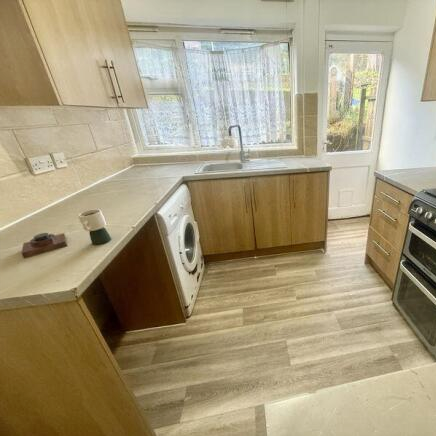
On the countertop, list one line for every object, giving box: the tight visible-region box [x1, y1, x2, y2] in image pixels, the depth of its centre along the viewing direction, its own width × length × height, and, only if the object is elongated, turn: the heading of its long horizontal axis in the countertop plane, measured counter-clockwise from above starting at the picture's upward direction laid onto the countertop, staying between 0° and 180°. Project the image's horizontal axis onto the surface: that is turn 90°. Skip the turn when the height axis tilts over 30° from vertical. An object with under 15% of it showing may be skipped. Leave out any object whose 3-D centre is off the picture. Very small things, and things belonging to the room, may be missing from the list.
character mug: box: [77, 208, 112, 246], centre depth 94 cm, size 11×7×13 cm, turn 11°
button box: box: [21, 232, 68, 259], centre depth 94 cm, size 12×10×4 cm
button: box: [33, 232, 50, 241], centre depth 93 cm, size 4×4×2 cm
